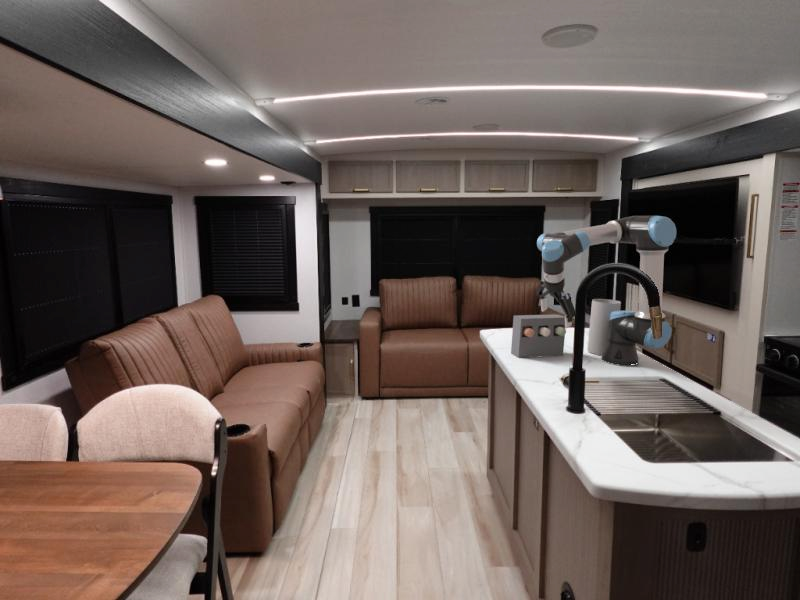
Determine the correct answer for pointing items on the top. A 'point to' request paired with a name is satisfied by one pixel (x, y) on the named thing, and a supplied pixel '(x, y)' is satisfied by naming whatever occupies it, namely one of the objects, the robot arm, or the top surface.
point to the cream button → (544, 331)
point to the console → (537, 336)
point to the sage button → (559, 330)
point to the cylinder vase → (600, 324)
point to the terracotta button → (528, 332)
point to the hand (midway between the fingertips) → (556, 318)
